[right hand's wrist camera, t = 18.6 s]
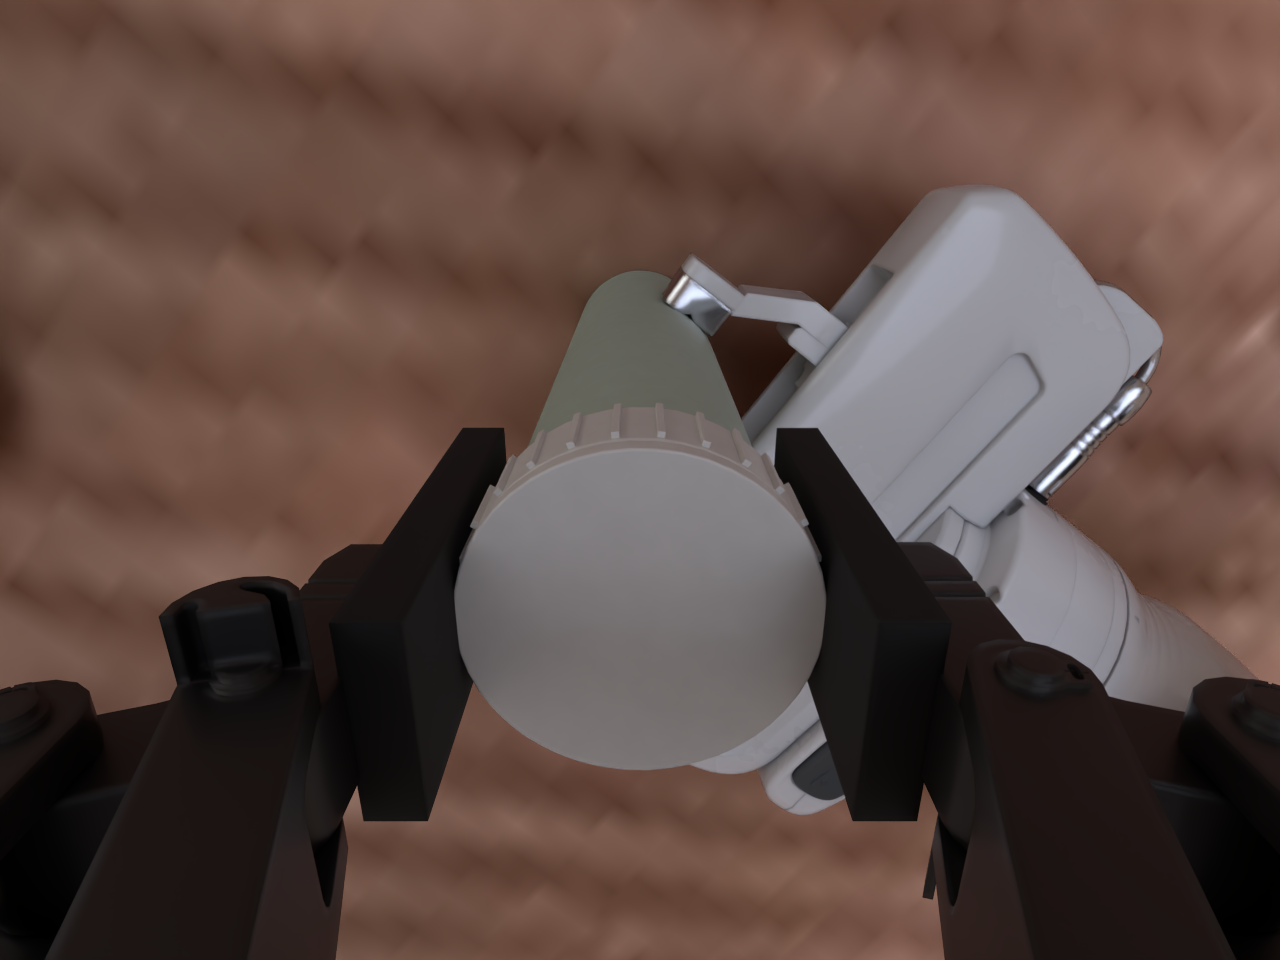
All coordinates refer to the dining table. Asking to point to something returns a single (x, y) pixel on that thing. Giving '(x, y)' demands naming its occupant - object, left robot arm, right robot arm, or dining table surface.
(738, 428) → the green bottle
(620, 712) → the lid
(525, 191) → the dining table surface
